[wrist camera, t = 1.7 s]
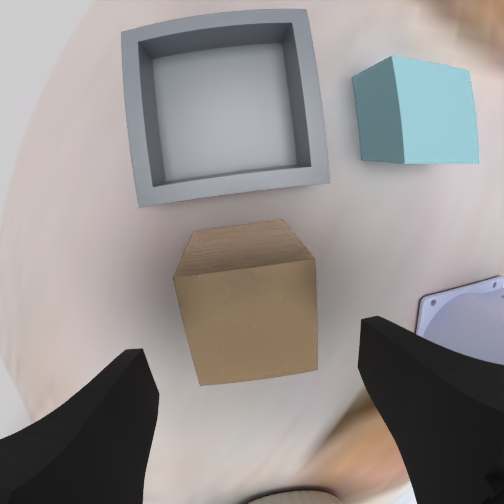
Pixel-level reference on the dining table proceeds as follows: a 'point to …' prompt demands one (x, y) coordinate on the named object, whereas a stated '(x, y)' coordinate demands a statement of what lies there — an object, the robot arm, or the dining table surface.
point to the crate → (223, 105)
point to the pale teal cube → (416, 113)
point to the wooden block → (248, 303)
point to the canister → (299, 498)
